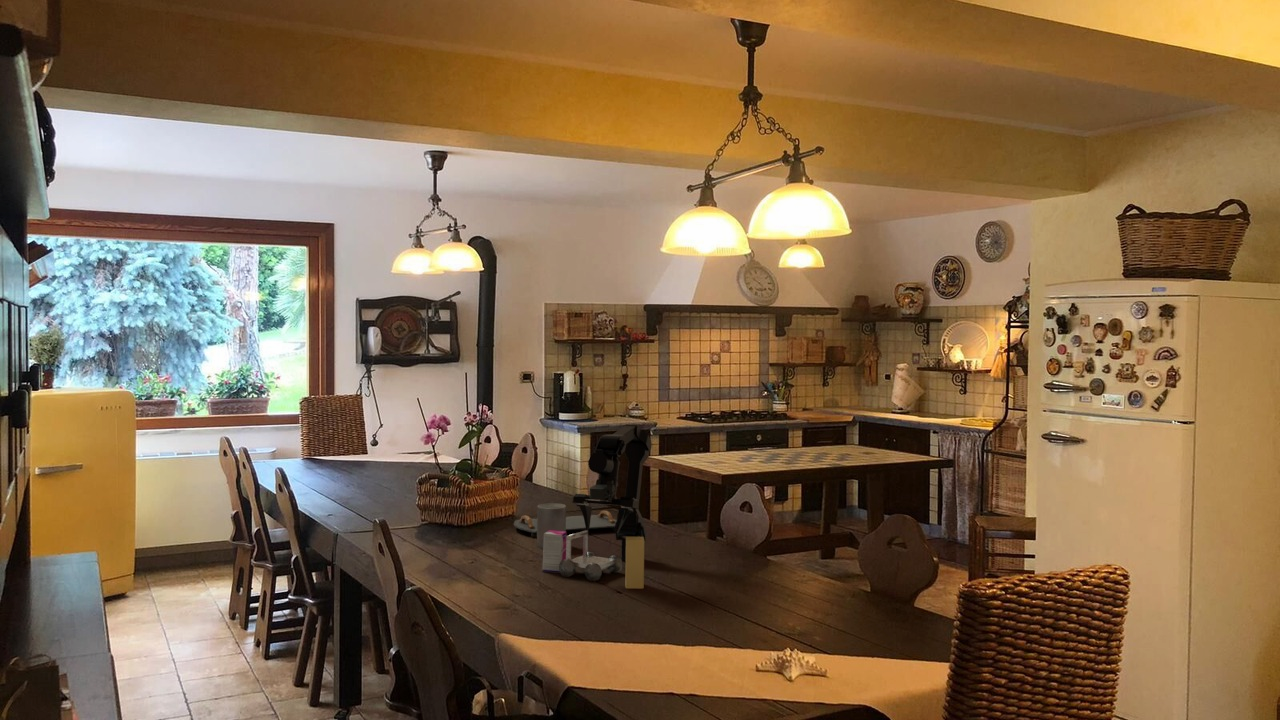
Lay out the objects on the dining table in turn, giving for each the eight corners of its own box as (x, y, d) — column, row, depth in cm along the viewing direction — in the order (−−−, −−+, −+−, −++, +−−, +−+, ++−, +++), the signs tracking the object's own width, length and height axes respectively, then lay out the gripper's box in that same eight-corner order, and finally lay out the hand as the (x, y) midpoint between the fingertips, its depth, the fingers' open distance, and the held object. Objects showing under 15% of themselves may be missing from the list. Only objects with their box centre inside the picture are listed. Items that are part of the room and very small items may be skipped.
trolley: (583, 566, 292) (583, 528, 292) (622, 573, 285) (623, 533, 285) (558, 575, 280) (559, 536, 280) (599, 582, 274) (599, 541, 273)
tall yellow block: (625, 583, 272) (625, 536, 272) (642, 583, 273) (643, 536, 272) (625, 588, 267) (626, 540, 267) (643, 588, 268) (644, 540, 267)
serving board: (525, 540, 332) (525, 522, 332) (506, 528, 353) (506, 511, 353) (627, 532, 348) (628, 515, 347) (604, 521, 369) (604, 505, 369)
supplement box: (561, 573, 284) (561, 534, 284) (541, 571, 285) (542, 533, 285) (566, 568, 290) (567, 530, 289) (547, 567, 291) (548, 529, 290)
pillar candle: (539, 542, 326) (540, 498, 326) (568, 543, 325) (568, 499, 325) (534, 549, 316) (534, 504, 316) (563, 550, 315) (563, 504, 315)
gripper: (568, 471, 277) (562, 526, 273) (629, 475, 271) (624, 531, 267) (582, 477, 287) (576, 529, 283) (641, 481, 281) (635, 534, 277)
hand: (602, 531), depth 277 cm, fingers open, 9 cm apart
